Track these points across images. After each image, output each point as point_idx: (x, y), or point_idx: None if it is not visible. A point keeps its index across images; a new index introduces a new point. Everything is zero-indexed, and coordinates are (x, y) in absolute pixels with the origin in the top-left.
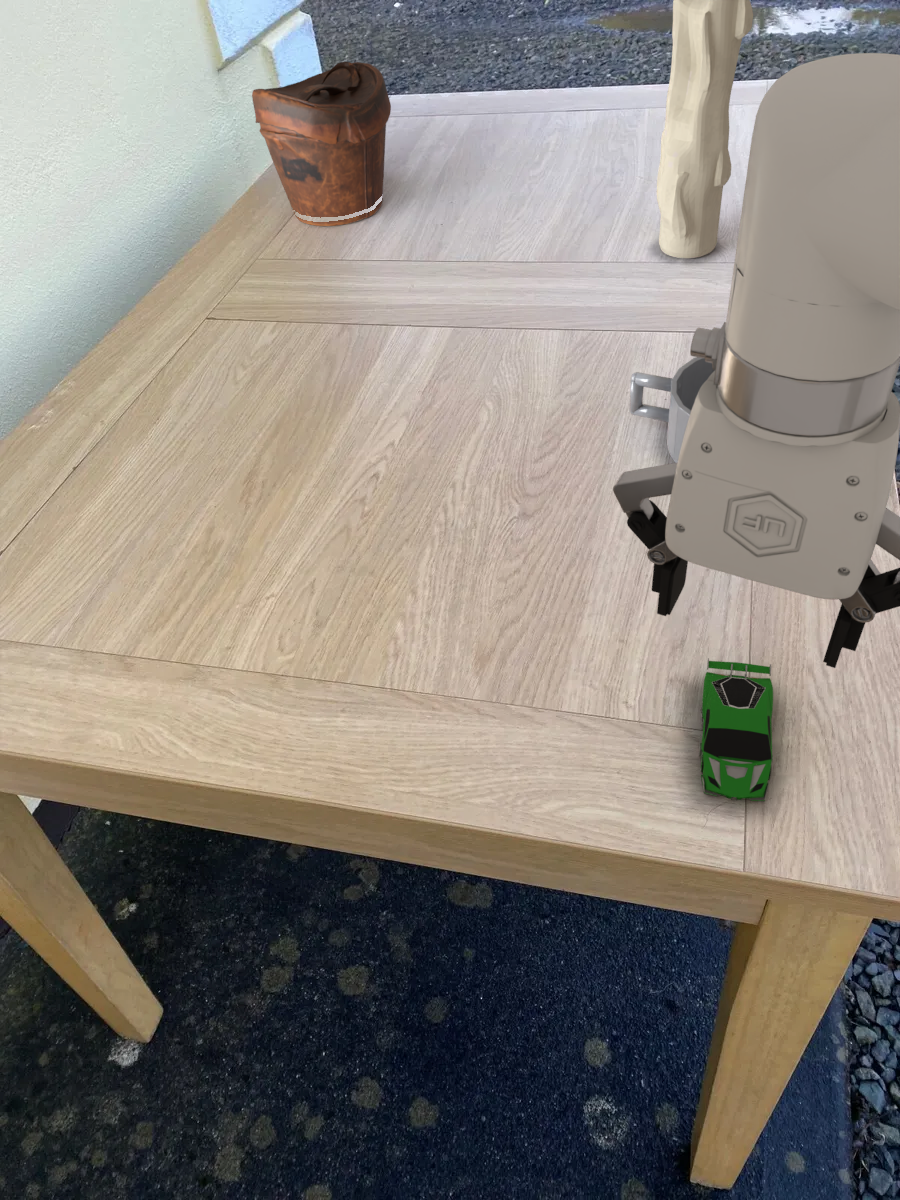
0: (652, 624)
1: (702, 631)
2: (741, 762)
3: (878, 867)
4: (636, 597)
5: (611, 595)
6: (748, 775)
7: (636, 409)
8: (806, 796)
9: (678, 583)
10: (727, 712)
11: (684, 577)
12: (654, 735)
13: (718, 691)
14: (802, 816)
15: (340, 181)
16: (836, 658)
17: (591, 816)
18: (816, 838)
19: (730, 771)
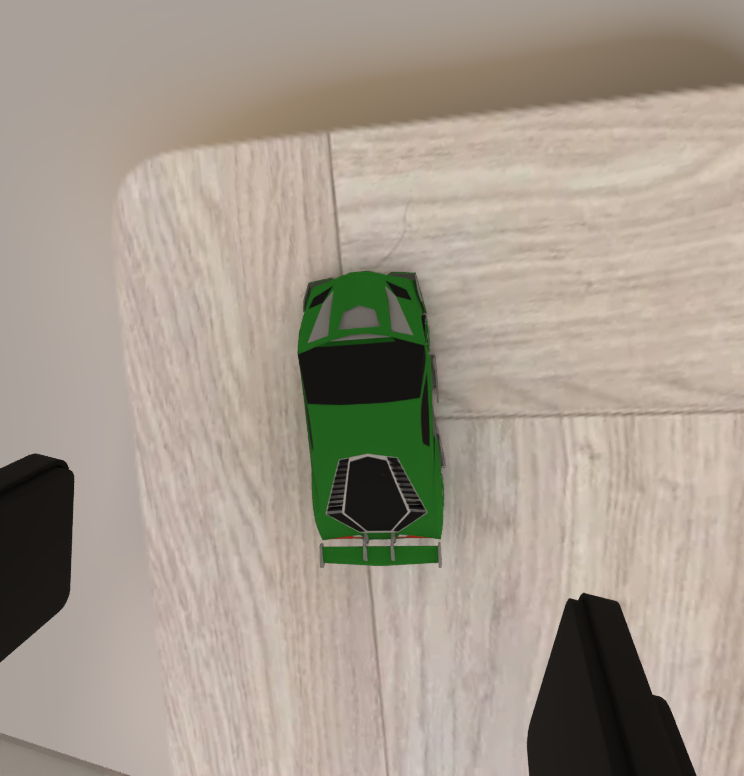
0: None
1: (461, 642)
2: (351, 337)
3: (124, 202)
4: None
5: None
6: (336, 315)
7: None
8: (245, 314)
9: (560, 736)
10: (387, 440)
11: (535, 766)
12: (525, 388)
13: (411, 492)
14: (246, 271)
15: None
16: (6, 469)
17: (633, 162)
18: (220, 232)
19: (370, 319)
